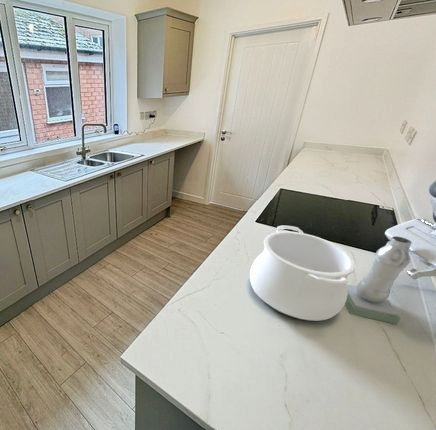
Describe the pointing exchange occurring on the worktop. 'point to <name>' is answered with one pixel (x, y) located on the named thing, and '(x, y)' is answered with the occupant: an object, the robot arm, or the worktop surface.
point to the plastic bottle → (385, 270)
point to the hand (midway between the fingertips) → (394, 264)
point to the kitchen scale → (370, 307)
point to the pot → (302, 275)
